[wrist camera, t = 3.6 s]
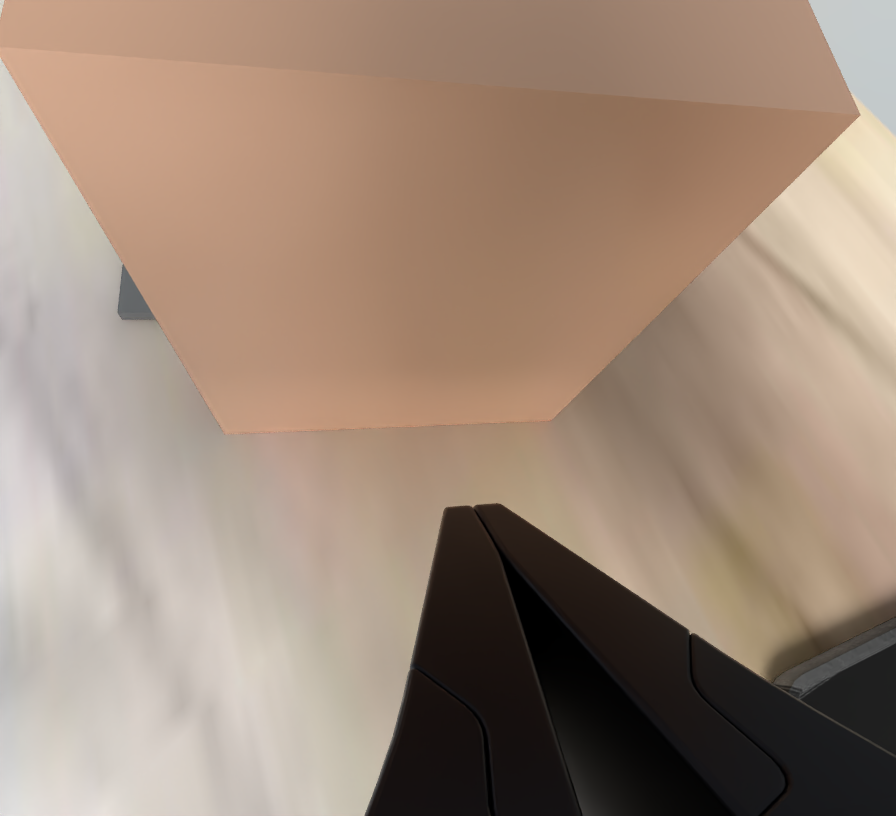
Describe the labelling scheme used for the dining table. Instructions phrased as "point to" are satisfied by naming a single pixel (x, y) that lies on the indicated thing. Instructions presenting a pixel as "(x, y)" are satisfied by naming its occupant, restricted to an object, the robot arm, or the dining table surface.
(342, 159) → the glazed tile
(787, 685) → the phone
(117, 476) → the dining table surface
